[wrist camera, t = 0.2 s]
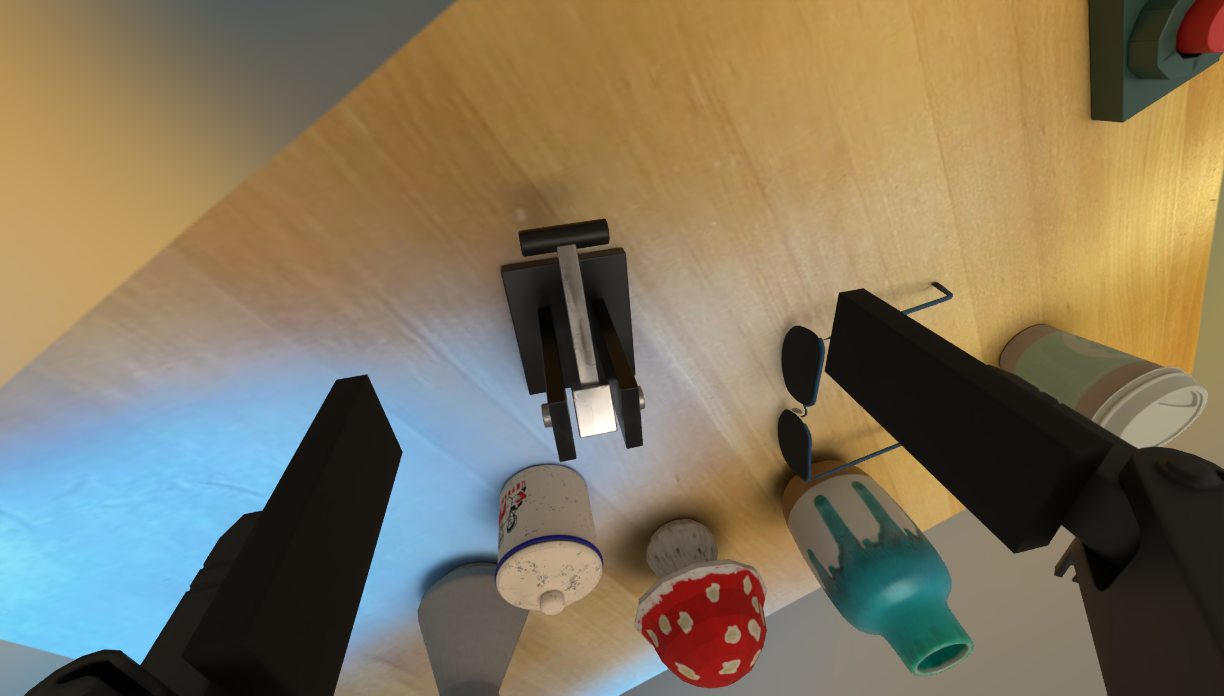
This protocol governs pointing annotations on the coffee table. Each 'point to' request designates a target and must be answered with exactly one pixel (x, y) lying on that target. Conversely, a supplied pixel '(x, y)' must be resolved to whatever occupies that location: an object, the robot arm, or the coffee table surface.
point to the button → (1202, 28)
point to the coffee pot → (469, 631)
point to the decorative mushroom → (701, 607)
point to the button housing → (1137, 55)
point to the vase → (876, 565)
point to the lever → (578, 317)
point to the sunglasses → (812, 393)
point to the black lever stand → (550, 339)
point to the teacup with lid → (546, 540)
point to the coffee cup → (1107, 385)
